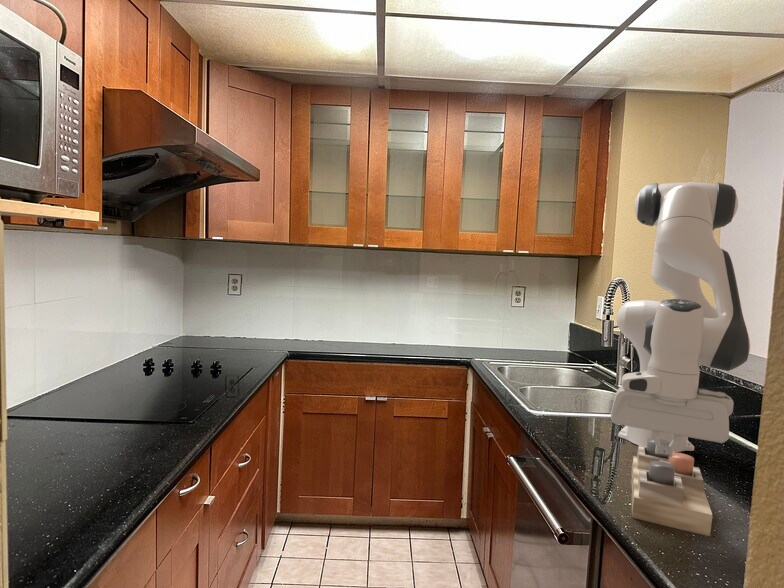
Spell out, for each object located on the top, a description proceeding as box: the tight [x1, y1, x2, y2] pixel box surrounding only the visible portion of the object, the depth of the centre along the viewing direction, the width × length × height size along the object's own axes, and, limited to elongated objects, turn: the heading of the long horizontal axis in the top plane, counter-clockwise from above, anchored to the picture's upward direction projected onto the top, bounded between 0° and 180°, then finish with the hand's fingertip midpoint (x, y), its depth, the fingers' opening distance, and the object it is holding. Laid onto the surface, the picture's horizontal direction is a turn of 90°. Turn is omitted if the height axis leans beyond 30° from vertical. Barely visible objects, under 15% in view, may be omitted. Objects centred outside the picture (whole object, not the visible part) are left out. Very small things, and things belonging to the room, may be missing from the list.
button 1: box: [646, 438, 670, 458], centre depth 119 cm, size 4×4×3 cm
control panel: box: [631, 445, 713, 537], centre depth 111 cm, size 25×13×7 cm, turn 156°
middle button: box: [669, 452, 695, 475], centre depth 110 cm, size 4×4×3 cm
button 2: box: [648, 461, 675, 485], centre depth 105 cm, size 4×4×3 cm
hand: (663, 454), depth 104 cm, fingers closed
